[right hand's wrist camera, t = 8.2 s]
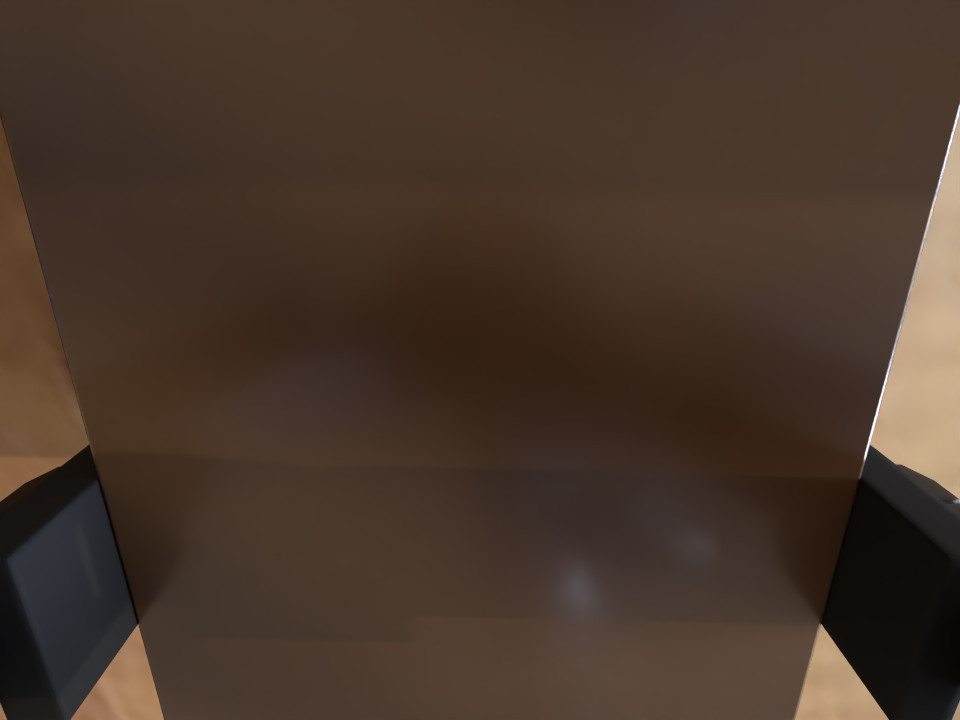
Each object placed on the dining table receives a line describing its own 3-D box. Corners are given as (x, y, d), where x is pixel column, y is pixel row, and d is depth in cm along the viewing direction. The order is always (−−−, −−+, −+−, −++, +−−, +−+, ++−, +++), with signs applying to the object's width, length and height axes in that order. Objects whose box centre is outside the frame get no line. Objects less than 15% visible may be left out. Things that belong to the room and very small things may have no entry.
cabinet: (248, -148, 14) (-248, -774, 4) (710, -148, 14) (1206, -774, 4) (319, 466, 20) (172, 759, 10) (640, 466, 20) (786, 759, 10)
